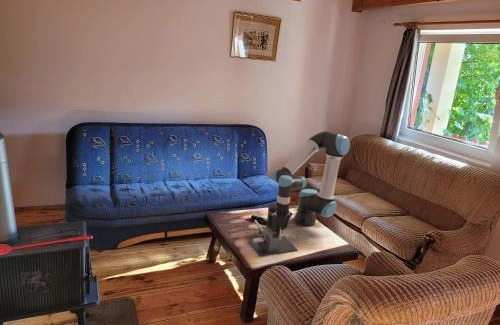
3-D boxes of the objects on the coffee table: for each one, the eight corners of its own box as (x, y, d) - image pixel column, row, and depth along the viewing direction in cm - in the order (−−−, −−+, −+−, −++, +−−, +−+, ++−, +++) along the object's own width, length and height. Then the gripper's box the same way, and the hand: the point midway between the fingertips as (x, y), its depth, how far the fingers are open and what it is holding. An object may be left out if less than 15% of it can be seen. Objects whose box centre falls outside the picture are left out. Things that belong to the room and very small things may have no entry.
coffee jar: (279, 235, 224) (282, 208, 219) (266, 234, 223) (269, 207, 218) (277, 228, 233) (280, 202, 228) (265, 227, 233) (267, 201, 227)
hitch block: (283, 237, 222) (285, 220, 219) (297, 250, 208) (299, 233, 204) (248, 241, 213) (250, 224, 210) (259, 256, 198) (261, 238, 195)
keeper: (260, 231, 208) (262, 230, 208) (265, 236, 202) (267, 235, 203) (253, 220, 203) (255, 218, 204) (257, 225, 198) (259, 223, 198)
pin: (273, 240, 213) (274, 231, 211) (278, 245, 208) (279, 235, 206) (250, 243, 207) (251, 234, 206) (254, 248, 202) (255, 239, 200)
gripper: (290, 198, 210) (285, 234, 216) (270, 200, 205) (266, 237, 211) (296, 203, 203) (291, 240, 210) (276, 205, 198) (272, 243, 205)
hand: (279, 238), depth 210 cm, fingers closed
